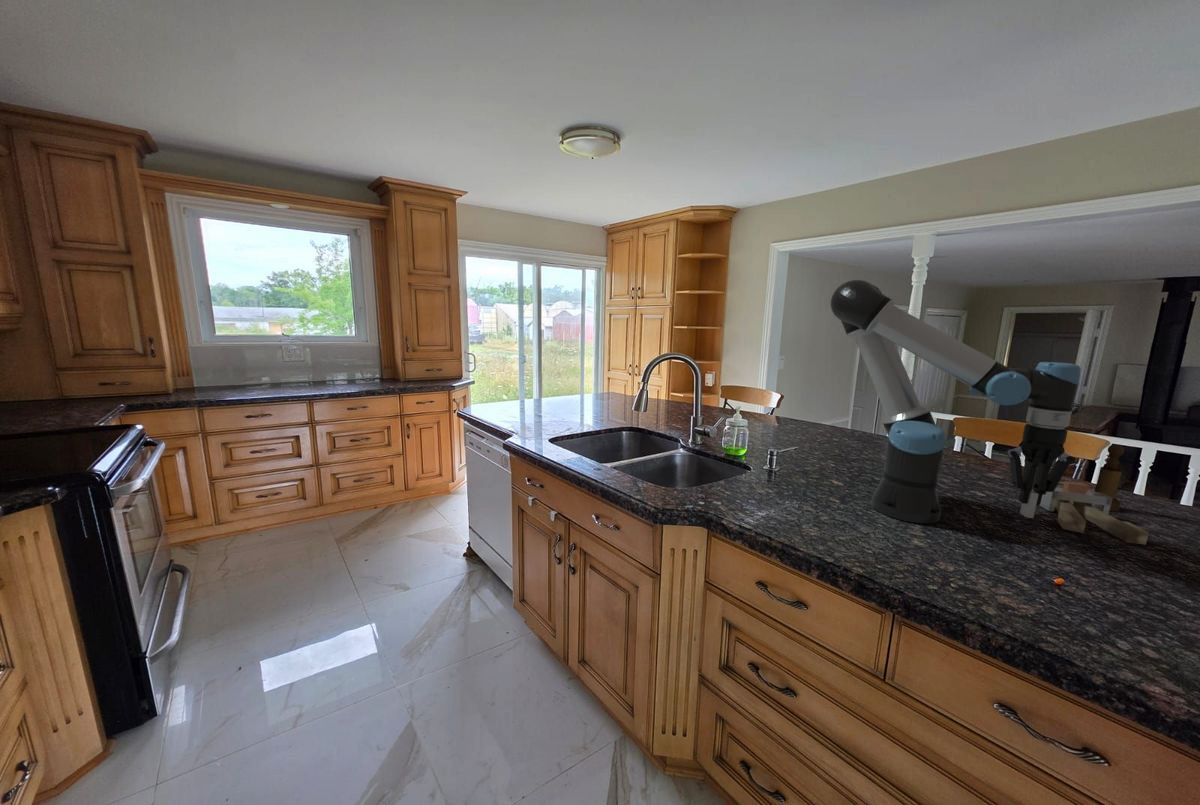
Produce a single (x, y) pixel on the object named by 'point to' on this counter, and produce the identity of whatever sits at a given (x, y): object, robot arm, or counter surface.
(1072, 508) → the tongs hinged arm
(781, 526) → the counter surface
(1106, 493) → the brown wooden post
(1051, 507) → the lock collar
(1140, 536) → the tongs fixed arm
